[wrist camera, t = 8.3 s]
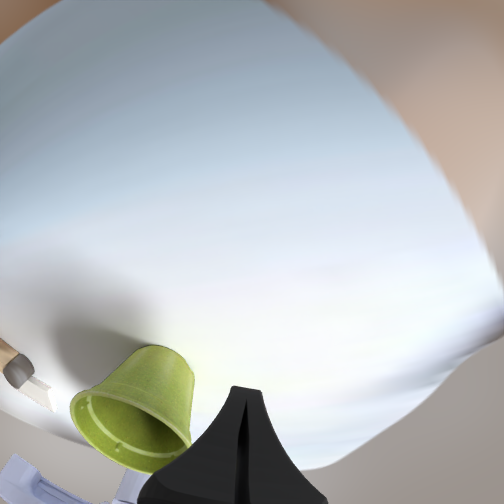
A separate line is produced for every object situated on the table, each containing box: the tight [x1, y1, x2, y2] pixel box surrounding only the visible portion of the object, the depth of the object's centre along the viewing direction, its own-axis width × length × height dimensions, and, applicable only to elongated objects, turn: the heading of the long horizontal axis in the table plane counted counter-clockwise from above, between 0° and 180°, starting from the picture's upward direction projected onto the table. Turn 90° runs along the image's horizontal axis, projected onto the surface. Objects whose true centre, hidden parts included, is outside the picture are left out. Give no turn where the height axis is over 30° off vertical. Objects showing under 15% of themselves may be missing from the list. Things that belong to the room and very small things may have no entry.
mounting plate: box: [15, 376, 57, 412], centre depth 26 cm, size 4×8×1 cm, turn 78°
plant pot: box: [70, 345, 195, 475], centre depth 19 cm, size 9×9×9 cm
